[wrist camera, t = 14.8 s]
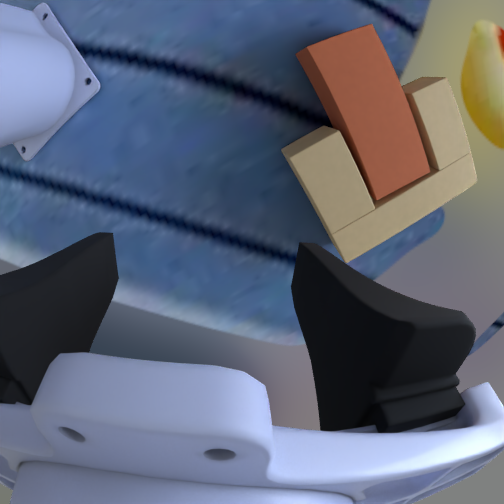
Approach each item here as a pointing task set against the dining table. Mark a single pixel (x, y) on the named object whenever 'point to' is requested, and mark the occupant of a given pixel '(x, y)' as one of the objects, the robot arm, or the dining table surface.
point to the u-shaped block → (401, 200)
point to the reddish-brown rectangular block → (367, 108)
